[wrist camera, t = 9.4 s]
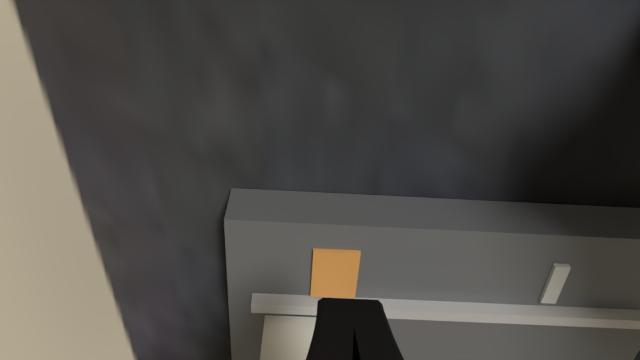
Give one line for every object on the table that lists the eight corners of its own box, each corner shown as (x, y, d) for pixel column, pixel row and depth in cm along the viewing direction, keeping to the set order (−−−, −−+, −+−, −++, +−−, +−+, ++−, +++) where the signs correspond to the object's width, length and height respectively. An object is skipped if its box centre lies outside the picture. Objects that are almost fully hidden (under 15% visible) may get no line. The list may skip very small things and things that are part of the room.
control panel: (675, 209, 22) (713, 253, 20) (567, 411, 30) (586, 457, 28) (231, 188, 22) (221, 229, 19) (240, 398, 30) (234, 444, 27)
